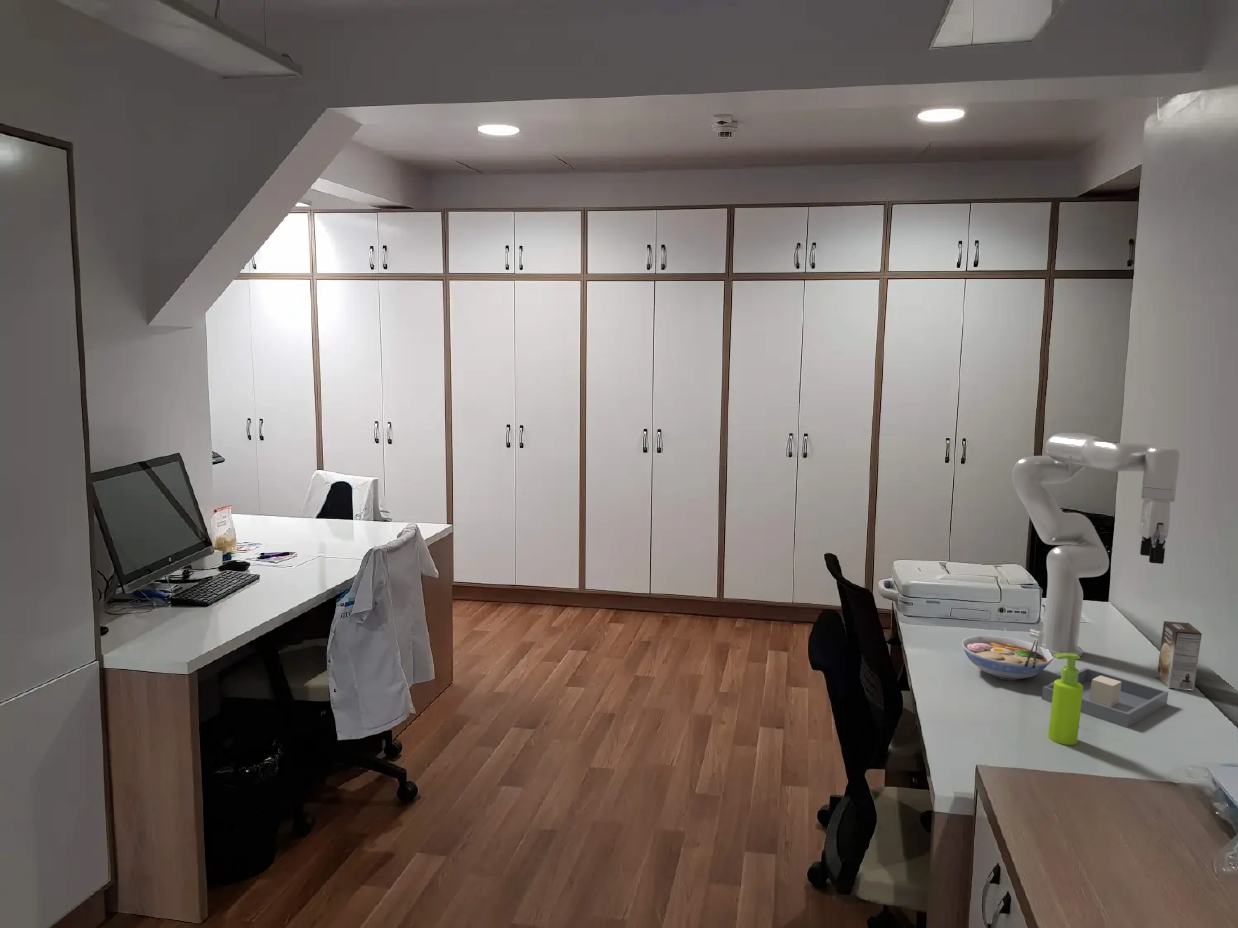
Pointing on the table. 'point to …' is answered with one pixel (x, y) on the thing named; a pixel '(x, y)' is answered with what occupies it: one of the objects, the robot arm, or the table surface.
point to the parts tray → (1131, 704)
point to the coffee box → (1179, 655)
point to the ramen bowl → (1006, 656)
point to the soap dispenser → (1066, 703)
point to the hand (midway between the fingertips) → (1151, 559)
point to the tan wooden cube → (1105, 691)
